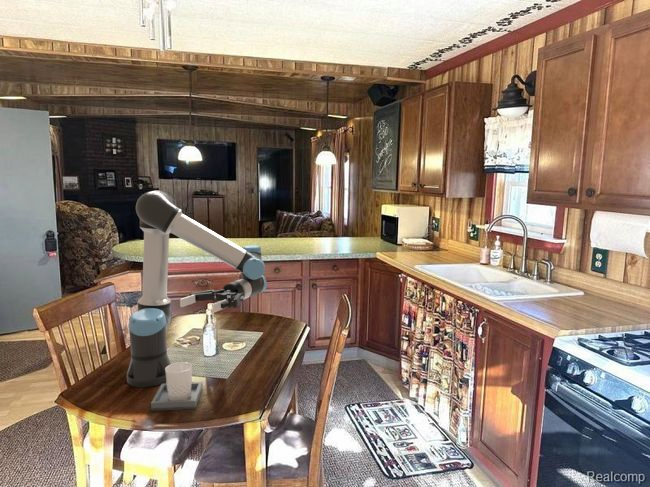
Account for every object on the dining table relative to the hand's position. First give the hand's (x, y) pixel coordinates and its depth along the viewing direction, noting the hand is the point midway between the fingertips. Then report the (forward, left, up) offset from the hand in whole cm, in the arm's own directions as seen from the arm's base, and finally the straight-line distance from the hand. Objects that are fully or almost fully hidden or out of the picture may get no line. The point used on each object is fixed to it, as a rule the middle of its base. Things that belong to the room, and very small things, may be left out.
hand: (196, 305), depth 147 cm
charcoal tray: (+8, -5, -28) cm, 30 cm away
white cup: (+9, -5, -27) cm, 29 cm away
